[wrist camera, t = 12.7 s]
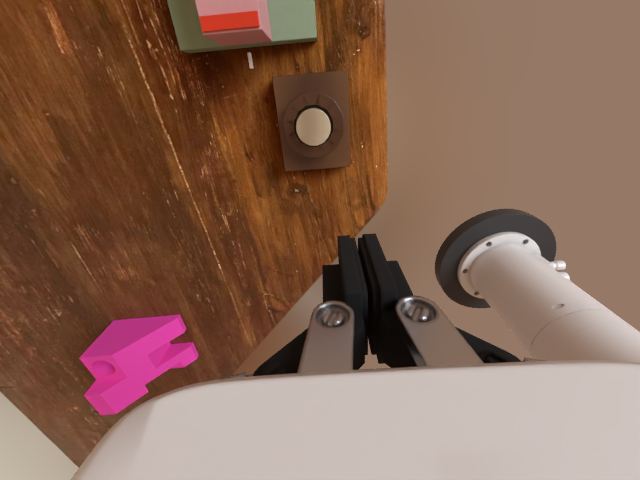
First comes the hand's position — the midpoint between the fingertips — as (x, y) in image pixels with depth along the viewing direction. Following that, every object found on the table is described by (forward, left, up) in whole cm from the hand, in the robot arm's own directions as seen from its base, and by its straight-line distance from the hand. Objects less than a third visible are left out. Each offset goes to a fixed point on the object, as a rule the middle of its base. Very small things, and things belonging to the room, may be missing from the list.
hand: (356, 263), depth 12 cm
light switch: (+2, -4, -25) cm, 25 cm away
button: (+2, -4, -22) cm, 22 cm away
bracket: (+34, +30, -25) cm, 52 cm away
